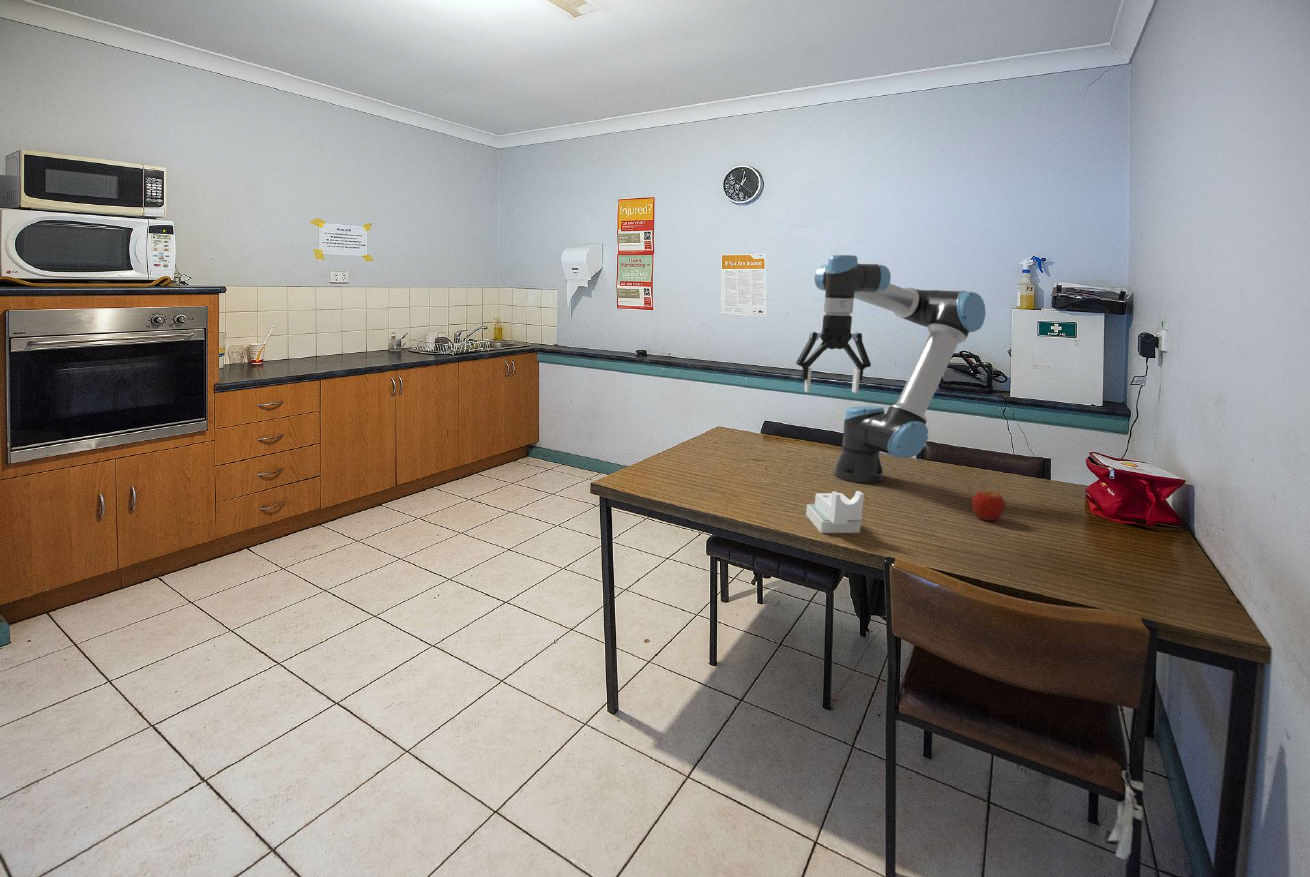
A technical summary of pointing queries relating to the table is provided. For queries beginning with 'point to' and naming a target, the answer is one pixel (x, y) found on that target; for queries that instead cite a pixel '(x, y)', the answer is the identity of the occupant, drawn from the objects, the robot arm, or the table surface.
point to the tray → (826, 525)
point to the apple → (988, 505)
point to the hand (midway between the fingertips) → (830, 392)
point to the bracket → (840, 506)
